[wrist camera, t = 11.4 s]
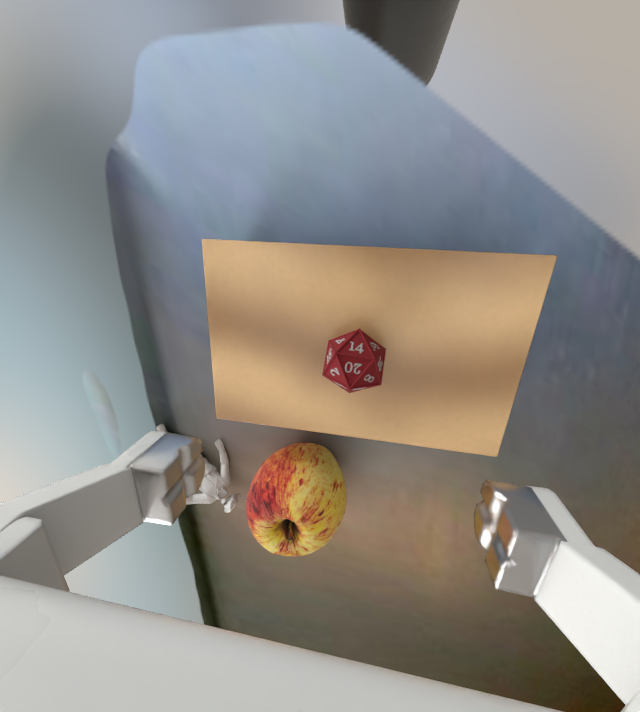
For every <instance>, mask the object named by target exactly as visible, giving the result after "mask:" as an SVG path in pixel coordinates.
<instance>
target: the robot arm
mask: <svg viewBox="0 0 640 712" xmlns="http://www.w3.org/2000/svg"><path fill="white" fill-rule="evenodd" d="M202 450H203V445H202V440H201V439H199V438H197V437H191V436H185V435H180V434H174V433H167V432H161V431H151V432H148V433H147V434H146V435H145V436H144V437H142V438H141V439H140V440H139V441H137V443H135V444H134V445H133V446H131V447H130V448H129V449H128V450H126V451H125V452H124V453H123V454H122V455H120V456H119V457H118V458H117V459H115V460H114V461H113V462H112V463H110V464H109V465H108V464H102V465H100V466H97V467H95V468H92V469H89V470H87V471H84V472H81V473H79V474H76V475H74V476H71V477H68V478H66V479H63V480H60V481H58V482H55V483H53V484H50V485H47V486H45V487H42V488H40V489H37V490H34V491H31V492H29V493H26V494H24V495H21V496H18V497H16V498H13V499H10V500H8V501H5V502H3V503H0V712H563V711H559V710H554V709H550V708H546V707H542V706H538V705H534V704H530V703H526V702H521V701H517V700H513V699H509V698H505V697H501V696H497V695H493V694H488V693H484V692H480V691H476V690H472V689H468V688H464V687H460V686H455V685H451V684H447V683H443V682H439V681H435V680H431V679H427V678H423V677H418V676H414V675H410V674H406V673H402V672H398V671H394V670H390V669H385V668H381V667H377V666H373V665H369V664H365V663H361V662H357V661H352V660H348V659H344V658H340V657H336V656H332V655H328V654H324V653H320V652H315V651H311V650H307V649H303V648H299V647H295V646H290V645H286V644H282V643H278V642H274V641H270V640H266V639H261V638H257V637H253V636H249V635H245V634H241V633H237V632H232V631H228V630H224V629H220V628H216V627H212V626H207V625H203V624H199V623H195V622H191V621H187V620H183V619H179V618H174V617H170V616H166V615H162V614H158V613H154V612H150V611H146V610H141V609H137V608H133V607H129V606H125V605H121V604H116V603H112V602H108V601H104V600H100V599H96V598H92V597H88V596H83V595H79V594H76V593H71V592H69V588H68V586H67V583H66V580H65V578H64V575H65V574H67V573H68V572H70V571H71V570H73V569H74V568H76V567H77V566H79V565H80V564H82V563H83V562H85V561H86V560H88V559H89V558H91V557H92V556H94V555H95V554H97V553H98V552H100V551H101V550H103V549H104V548H106V547H107V546H109V545H110V544H112V543H113V542H115V541H116V540H118V539H119V538H121V537H122V536H124V535H125V534H127V533H128V532H130V531H131V530H133V529H134V528H136V527H137V526H139V525H140V524H142V523H143V521H148V522H153V523H160V524H166V525H173V523H174V522H175V520H176V519H177V518H178V516H179V515H180V514H181V512H182V511H183V510H184V508H185V507H186V498H188V497H190V496H192V495H193V494H195V493H196V492H197V490H198V489H199V487H200V486H201V483H202V481H203V478H204V474H205V461H204V460H203V459H202V457H201V456H200V455H199V454H200V453H201V452H202ZM480 493H481V495H482V497H483V500H482V501H481V502H480V503H478V504H477V505H476V508H475V512H474V529H475V534H476V537H477V540H478V543H479V544H480V545H481V546H482V547H483V548H484V549H485V550H486V551H487V555H486V558H485V563H486V565H487V568H488V571H489V574H490V576H491V579H492V582H493V585H494V587H495V589H499V590H503V591H508V592H512V593H517V594H521V595H526V596H530V597H534V598H535V599H534V600H535V601H536V602H537V603H538V604H539V605H540V607H541V608H542V609H543V610H544V611H545V612H546V614H547V615H548V616H549V617H550V618H551V619H552V620H553V622H554V623H555V624H556V625H557V626H558V627H559V629H560V630H561V631H562V632H563V633H564V634H565V635H566V637H567V638H568V639H569V640H570V641H571V642H572V644H573V645H574V646H575V647H576V648H577V649H578V650H579V652H580V653H581V654H582V655H583V656H584V657H585V659H586V660H587V661H588V662H589V663H590V664H591V666H592V667H593V668H594V669H595V670H596V671H597V672H598V674H599V675H600V676H601V677H602V678H603V679H604V681H605V682H606V683H607V684H608V685H609V686H610V687H611V689H612V690H613V691H614V692H615V693H616V694H617V696H618V697H619V698H620V699H621V700H622V701H623V702H624V704H625V705H626V706H625V707H624V708H623V710H622V711H621V712H640V574H638V573H637V572H636V571H634V570H633V569H631V568H630V567H629V566H627V565H626V564H624V563H623V562H621V561H620V560H619V559H617V558H616V557H614V556H613V555H612V554H610V553H609V552H607V551H606V550H605V549H603V548H598V547H595V546H594V545H593V543H592V542H591V541H590V539H589V538H588V537H587V535H586V534H585V533H584V531H583V530H582V529H581V527H580V526H579V525H578V523H577V522H576V521H575V519H574V518H573V517H572V515H571V514H570V513H569V511H568V510H567V509H566V507H565V506H564V505H563V503H562V502H561V501H560V499H559V498H558V497H557V495H556V494H555V493H554V492H553V491H552V490H550V489H548V488H540V487H532V486H521V485H514V484H507V483H500V482H493V481H485V482H484V483H483V485H482V488H481V491H480Z"/></svg>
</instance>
